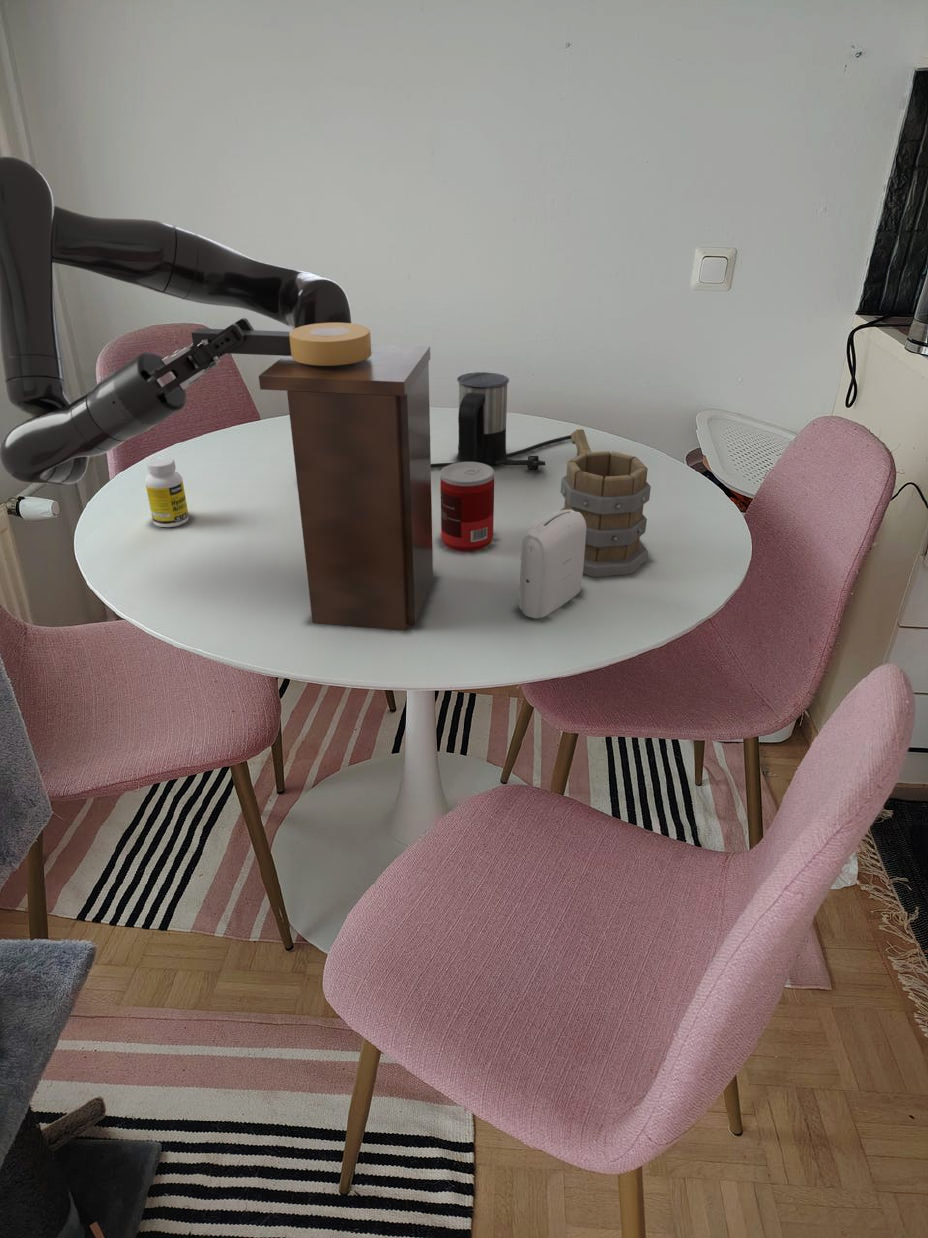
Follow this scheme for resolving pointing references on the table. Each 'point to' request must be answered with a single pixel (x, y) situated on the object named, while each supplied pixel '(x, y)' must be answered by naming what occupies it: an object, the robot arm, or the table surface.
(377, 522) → the wooden cabinet
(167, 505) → the supplement bottle
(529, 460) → the milk frother
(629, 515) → the tankard
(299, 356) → the disc with black handle
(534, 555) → the photo printer
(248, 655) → the table surface
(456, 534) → the canned food
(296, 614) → the table surface
